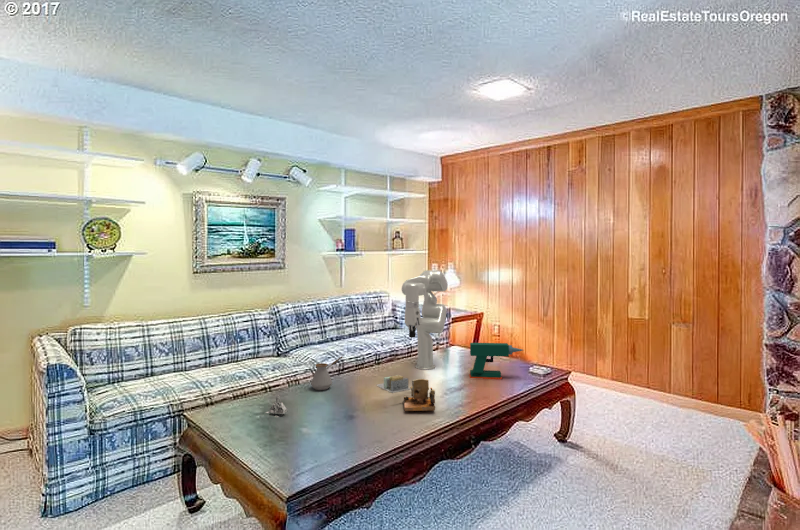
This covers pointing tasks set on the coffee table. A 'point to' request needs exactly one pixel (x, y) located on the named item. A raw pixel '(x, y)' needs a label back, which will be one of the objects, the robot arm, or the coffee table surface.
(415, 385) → the armchair
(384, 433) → the coffee table surface
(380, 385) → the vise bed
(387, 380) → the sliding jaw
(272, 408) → the grey craggy lump
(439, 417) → the coffee table surface
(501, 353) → the power tool
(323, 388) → the coffee pot
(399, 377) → the brass block
